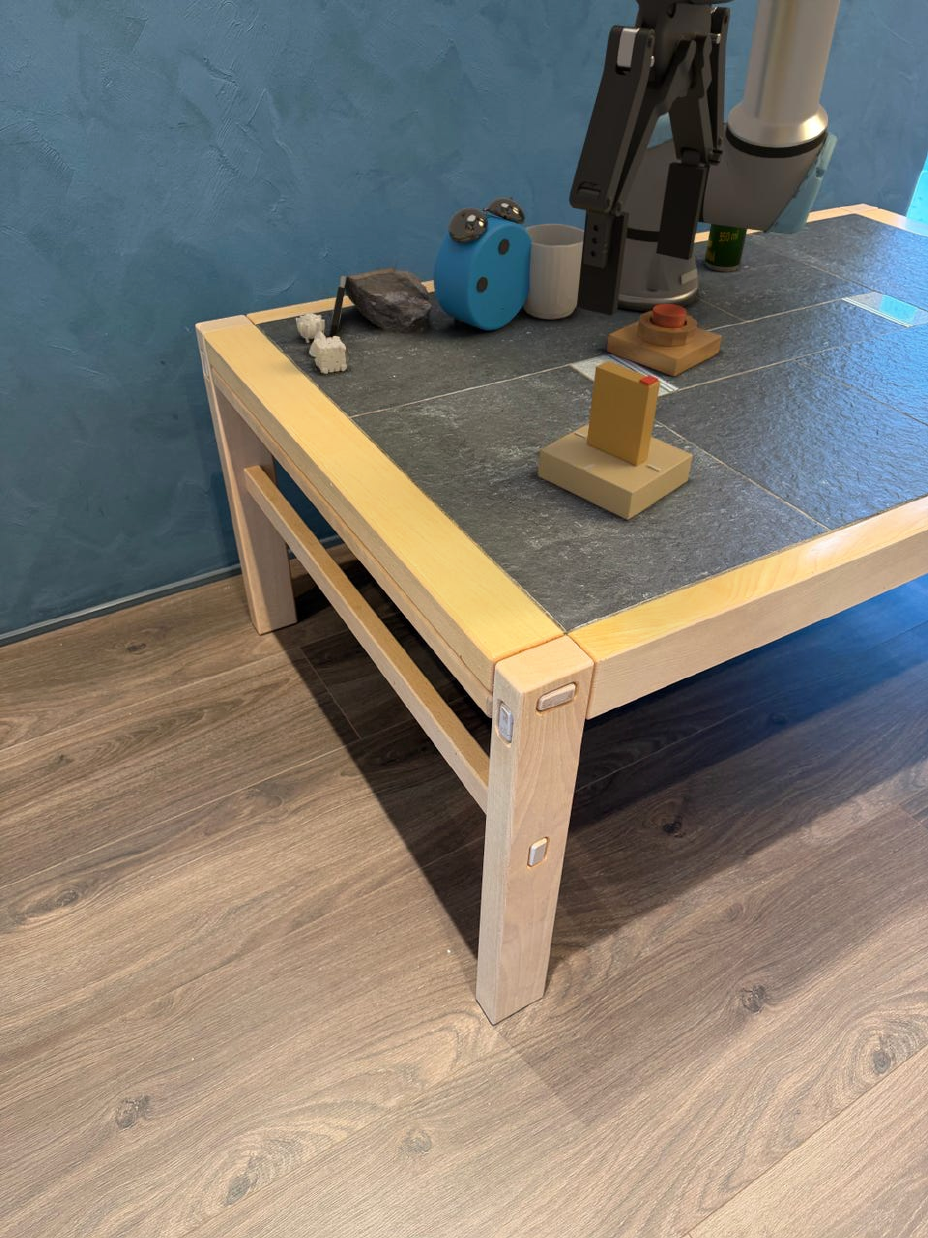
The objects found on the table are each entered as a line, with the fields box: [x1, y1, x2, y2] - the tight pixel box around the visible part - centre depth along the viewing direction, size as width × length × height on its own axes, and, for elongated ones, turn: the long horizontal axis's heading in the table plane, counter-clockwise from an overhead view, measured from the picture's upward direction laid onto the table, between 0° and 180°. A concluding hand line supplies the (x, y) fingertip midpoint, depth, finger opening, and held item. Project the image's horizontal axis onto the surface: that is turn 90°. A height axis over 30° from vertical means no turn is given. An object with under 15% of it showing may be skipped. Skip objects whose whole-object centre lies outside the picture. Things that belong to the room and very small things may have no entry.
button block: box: [606, 311, 723, 377], centre depth 112 cm, size 10×10×4 cm
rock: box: [344, 267, 432, 335], centre depth 118 cm, size 14×11×5 cm
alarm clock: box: [433, 196, 532, 331], centre depth 114 cm, size 13×6×15 cm, turn 136°
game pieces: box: [295, 312, 348, 375], centre depth 110 cm, size 12×3×3 cm, turn 22°
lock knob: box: [587, 360, 661, 466], centre depth 85 cm, size 6×2×8 cm, turn 46°
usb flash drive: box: [328, 275, 347, 338], centre depth 116 cm, size 9×5×1 cm
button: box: [651, 304, 687, 329], centre depth 110 cm, size 4×4×2 cm
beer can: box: [703, 224, 748, 273], centre depth 134 cm, size 5×5×12 cm
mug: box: [522, 223, 584, 320], centre depth 120 cm, size 13×9×10 cm
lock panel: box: [537, 423, 694, 521], centre depth 88 cm, size 11×10×3 cm
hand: (637, 281), depth 67 cm, fingers open, 13 cm apart
